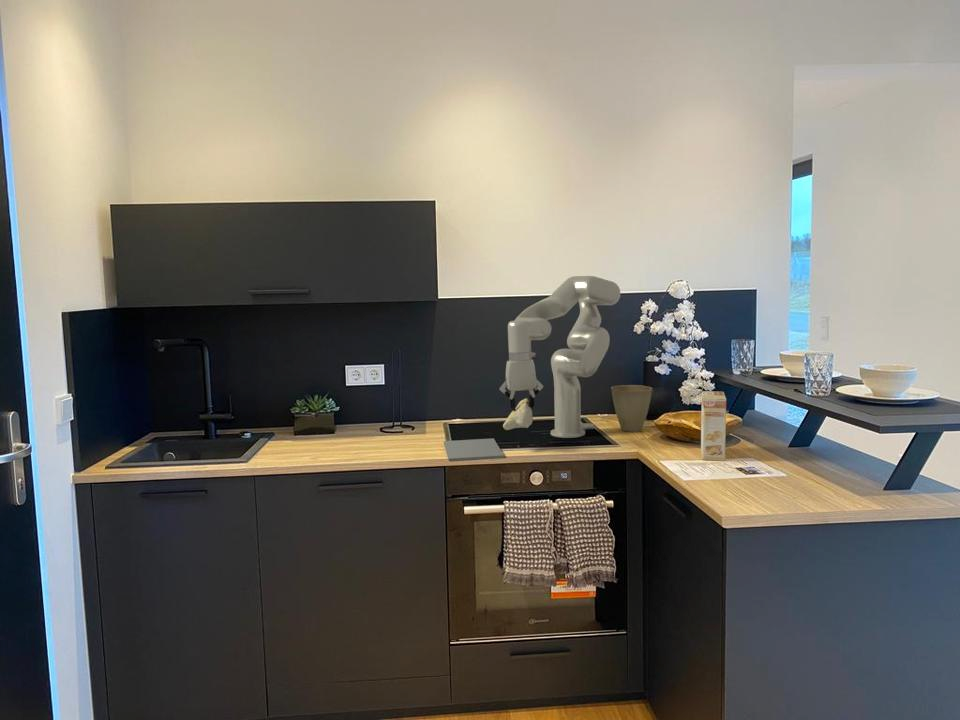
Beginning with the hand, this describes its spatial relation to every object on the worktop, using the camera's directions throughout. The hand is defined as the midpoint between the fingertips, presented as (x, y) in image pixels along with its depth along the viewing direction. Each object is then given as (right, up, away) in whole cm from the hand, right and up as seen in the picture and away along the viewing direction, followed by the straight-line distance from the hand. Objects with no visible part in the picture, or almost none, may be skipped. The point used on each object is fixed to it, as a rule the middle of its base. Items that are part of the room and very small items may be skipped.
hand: (522, 408), depth 237 cm
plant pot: (+42, -10, +23) cm, 49 cm away
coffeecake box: (+60, -14, -15) cm, 64 cm away
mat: (-17, -14, -1) cm, 22 cm away
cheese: (-1, -6, +1) cm, 6 cm away
